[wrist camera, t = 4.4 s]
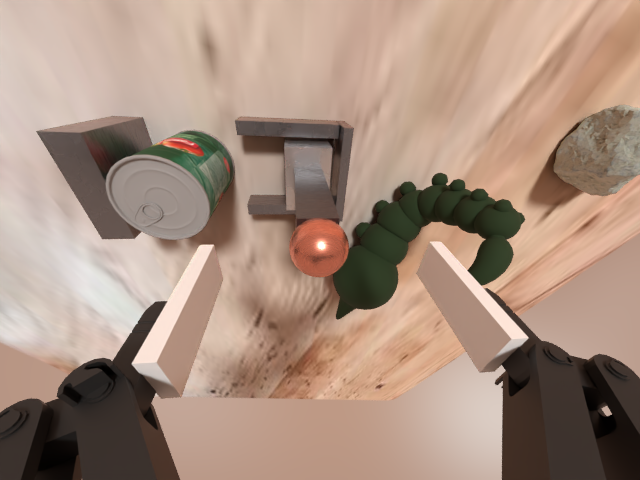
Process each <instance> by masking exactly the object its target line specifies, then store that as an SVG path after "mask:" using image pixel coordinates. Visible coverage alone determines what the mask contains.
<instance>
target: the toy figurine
mask: <svg viewBox="0 0 640 480" xmlns="http://www.w3.org/2000/svg"><path fill="white" fill-rule="evenodd" d="M447 182H448V178H447V175H446V174H443V173H438V174H435V175H434V176H433V178H432V186H430V187H427V188H426V189H424V190H423V191H422V190H416V187H415V185H414V184H413V183H412V182H404V183H403V184H402V185H401V186H400V192H401V194H402V195H403V197H402V198H401V199H400V200H399V201H396V202H393V203H390V204H389V203H388V202H387V201H384V200H381V201H379V202H377V204H376V206H375V209H376V212H378V213H379V215H378V217H377V223H375V224H373V225H371V224H369V223H367V222H365V223H360V224H359V225H357V228H356V233H357V236H358V237H359V238H361V241H360V245H358V246H354V247H352V248H350V249H349V252H348V256H347V259H346V261H345V263H344V264H343V266H342V267H341V268H340V269H339V270H338V271H337V272H335V273H333V281H334V286H335V288H336V291H337V293H338V294H339V296H340V300H339V305H338V309H337V313H336V319H340V318H342V317H344V316H345V315H347V314H348V313H350V312H351V311H353V310H354V309H356V308H357V309H364V310H367V309H374V308H377V307H380V306H382V305H383V304H385V303H386V302H388V301H389V300H390V298H391V297H392V296H393V294H394V292H395V290H396V288H397V284H398V271H397V267H396V265H397V264H399V263H400V262H401V261H402V260H403V259H404V258H405V256H406V254H407V251H408V242H410V241H412V240H413V239H415V238H416V236H417V235H418V234H419V232H420V230H421V228H422V227H424V226H426V225H428V224H429V223H431V222H441V221H442V222H443V223H445V224H447V225H452V226H458V227H459V228H460V229H461V230H463V231H466V232H468V233H478V234H479V235H480V236H481V237H482V238H484V239H486V240H484V241H483V242H482V244H481V245H480V247H479V249H478V253H477V256H476V259H475V261H474V263H473V264H472V266H471V267H470V268H469V269H468V270H467V271H468V272H469V273H470V274H471V275H472V276H473V277H474V279H475V280H476V281H477V282H478V283H479V284H480V285H485V284H487V283H489V282H491V281H493V280H495V279H497V278H498V277H499V276H500V275H501V274H503V273H504V272H505V271H506V269H507V268H508V266H509V265H510V263H511V261H512V258H513V255H514V254H513V249H512V247H511V245H510V244H509V242H508V241H506V240H507V239H509V238H511V237H513V236H514V235H515V234H516V233H517V232H518V231H519V229H520V227H521V224H522V223H523V222H524V221H525V218H524V216H523V215H522V213H519V212H517V211H516V210H515V209H514V208H513V206H512V204H511V202H510V201H509V200H504V199H502V200H499V201H495V200H494V199H492V198H490V197H488V193H487V192H486V191H485V190H484V189H476V190H474V191H472V192H471V191H469V190H467V189H465V182H464V181H463V180H460V179H457V180H453V182H452V183H451V184H450V185H449V186H447V185H446V183H447Z"/></svg>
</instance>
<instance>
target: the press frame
mask: <svg viewBox="0 0 640 480" xmlns="http://www.w3.org/2000/svg"><path fill="white" fill-rule="evenodd" d="M235 123H236V130H237V135H249V136H278V137H307V138H335V140H334V152H333V164H332V177H331V189H330V192H331V195H332V198H333V201H334V204H335V206H336V209H337V212H338V215H339V218H340V220H339V221H342V218H343V210H344V202H345V194H346V186H347V178H348V170H349V162H350V154H351V146H352V138H353V130H354V128H353V127H351V126H350V125H349V124H347V123H346V122H345V121H328V120H305V119H282V118H259V117H239V118H238V119H236V120H235ZM36 132H37V133H38V135H39V137H40V138H41V140H42V141H43V143H44V145H45V146H46V148H47V150H48V151H49V153H50V155H51V156H52V158H53V159H54V161H55V163H56V164H57V166H58V168H59V169H60V171H61V172H62V174H63V176H64V177H65V179H66V181H67V182H68V184H69V186H70V187H71V189H72V190H73V192H74V194H75V195H76V197H77V199H78V200H79V202H80V203H81V205H82V207H83V208H84V210H85V212H86V213H87V215H88V217H89V218H90V220H91V221H92V223H93V225H94V226H95V228H96V230H97V231H98V233H99V234H100V236H101V238H102V239H135V238H136V237H137V236H138V235H139V234H140V233H141V231H140V230H138V229H136V228H134V227H133V226H131V225H130V224H129V223H127V222H126V221H125V220H124V219H123V218H122V217H121V216H120V215H119V214H118V213H117V211H116V210H115V209H114V207H113V206H112V204H111V202H110V201H109V198H108V195H107V192H106V178H107V174H108V172H109V170H110V169H111V167H112V166H113V165H114V164H115V163H116V162H118V161H120V160H121V159H123V158H125V157H129V156H132V155H133V154H135V153H137V152H140V151H142V150H144V149H146V148H148V147H150V146H152V143H151V140H150V137H149V134H148V131H147V129H146V126H145V123H144V120H143V117H120V116H111V117H106V118H101V119H96V120H91V121H86V122H80V123H75V124H70V125H65V126H60V127H55V128H50V129H45V130H40V131H36ZM248 212H249V214H295V210H287V209H286V195H251V196H250V199H249V202H248Z"/></svg>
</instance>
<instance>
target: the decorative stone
mask: <svg viewBox="0 0 640 480" xmlns="http://www.w3.org/2000/svg"><path fill="white" fill-rule="evenodd" d="M553 168H554V172H555V173H557V175H558V176H559V177H560V178H561V179H562V180H563V181H564V182H566V183H568V184H572V185H573V186H574V187H576V188H577V189H579V190H581V191H583V192H586V193H588V194H590V195H599V196H607V195H610V194H615V193H617V192H618V191H619V190H620V189H621V188H622V187H623V186H624V185H625V184H627V183H628V182H629V181H630V180H632V179H633V178H634V177H636V176H637V175H639V174H640V108H634V107H631V106H628V105H619V106H615V107H611V108H608V109H604V110H602V111H601V112H598V113H596V114H593V115H591V116H590V117H588V118H585V119H584V120H583V121H582V123H581V124H580V125H579V126H578V128H577V129H576V130H574V131H573V132H572V133H571V134H569V135H568V136H567V137H566V138H565V139H564V140H563V141H562V142H561V144H560V147H559V148H558V150H557V152H556V160H555V163H554V166H553Z"/></svg>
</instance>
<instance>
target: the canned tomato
mask: <svg viewBox="0 0 640 480" xmlns="http://www.w3.org/2000/svg"><path fill="white" fill-rule="evenodd" d="M234 173H235V166H234V162H233V159H232V156H231V154H230V152H229V151H228V149H227V148H226V147H225V145H224V144H223V143H222V142H221V141H219V140H218V139H217V138H216V137H214V136H212V135H210V134H208V133H206V132H203V131H198V130H186V131H182V132H179V133H178V134H176V135H174V136H171V137H170V138H167V139H165V140H163V141H161V142H159V143H156V144H155V145H152V146H150V147H148V148H146V149H144V150H142V151H140V152H137V153H135V154H133V155H132V156H129V157H125V158H123V159H121V160H120V161H118V162H116V163H115V164H114V165H113V166H112V167H111V169H110V170H109V172H108V174H107V178H106V192H107V195H108V198H109V201H110V202H111V204H112V206H113V207H114V209H115V210H116V211H117V213H118V214H119V215H120V216H121V217H122V218H123V219H124V220H125V221H126V222H127V223H129V224H130V225H131V226H133V227H134V228H136V229H138V230H140V231H141V232H143V233H145V234H148V235H151V236H153V237H157V238H161V239H168V240H180V239H185V238H190V237H192V236H194V235H196V234H198V233H199V232H200V231H202V229H203V228H204V227H205V226H206V225H207V222H208V220H209V218H210V217H211V215H212V213H213V212H214V210H215V209H216V207H217V205H218V203H219V202H220V200H221V199H222V197H223V195H224V193H225V192H226V190H227V188H228V187H229V185H230V184H231V182H232V180H233V178H234Z"/></svg>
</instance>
